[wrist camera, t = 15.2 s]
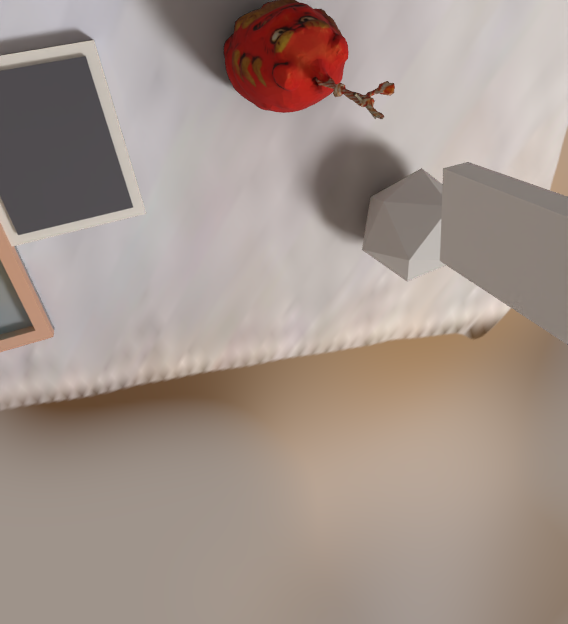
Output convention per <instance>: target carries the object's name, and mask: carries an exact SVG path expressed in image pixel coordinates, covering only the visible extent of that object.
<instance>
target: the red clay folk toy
mask: <svg viewBox="0 0 568 624" xmlns="http://www.w3.org/2000/svg"><path fill="white" fill-rule="evenodd" d="M224 56H225V65H226V71H227V74H228V77H229V80H230V81H231V83H232V85H233V87H234V88H235V90H236V91H237V92H238V93H239V94H240V95H242V96H243V97H244V98H246V99H247V100H248V101H250V102H252V103H254V104H255V105H256V106H257V107H259V108H260V109H263V110H270V111H275V112H283V113H285V112H294V111H299V110H302V109H305V108H307V107H309V106H311V105H313V104H315V103H318V102H319V101H321V100H322V99H324V98H325V97H327V96H328V95H330V94H331V93H332V92H333V94H334V96H335V97H339V96H341V95H342V94H344V95H345V96H347V97H348V98H349V99H351V100H353V101H354V102H355V103H357V104H358V105H359V106H361V107H366V108H367V109H368V111H369V112H370V113H371V114H372V116H373V117H374V118H375V119H376V117H377V118H380V119H383V118H384V115H383V114H382V113H380V112H377V111H376V109H374V108H373V104H374V99H373V98H371V96H372V95H374V94H378V93H380V94H383V95H392V94H393V93H394V88H395V87H394V83H389V82H388V81H386V82H384V83H381V84H379V87H378V88H377V89H375V90H373V91H371V92H368V93H367V94H366V95H362V94H360V93H356V92H352V91H349V90H347V89H346V88H345V85H344V84H342V83H340V82H341V80H342V76H343V69H344V64H345V61H346V60H347V59H348V45H347V42H346V40H345V38H344V37H343V36H342V34H341V32H340V30H339V29H338V27H337V25H336V24H335V22H334V20H333V19H332V18H331V17H330V16H328V15H327V14H326V12H325V11H324V10H322V9H313V8H311V7H310V6H308V5H306V4H304V3H299V2H297V1H296V0H276V1H273V2H268V3H266V4H264V5H263V6H262V7H261V9H258V10H254V11H252V12H250V13H247V14H245V15H244V16H242V17H240V18H239V19H238V20H237V21H236V22H235V28H234V33H233V34H232V35H231V36H230V37H229V38H228V39H227V40H226V42H225V44H224Z"/></svg>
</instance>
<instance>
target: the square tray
mask: <svg viewBox="0 0 568 624" xmlns="http://www.w3.org/2000/svg"><path fill="white" fill-rule="evenodd" d="M53 335H54V327H53V325H52V323H51V320H50V318H49V316H48V314H47V312H46V310H45V308H44V306H43V303H42V301H41V299H40V297H39V295H38V293H37V291H36V289H35V286H34V284H33V282H32V280H31V278H30V276H29V274H28V272H27V269H26V267H25V265H24V263H23V261H22V259H21V257H20V255H19V252H18V250H17V248H16V246H11V244H10V242H9V240H8V237H7V235H6V233H5V231H4V229H3V227H2V225H1V223H0V352H3V351H6V350H10V349H13V348H16V347H20V346H23V345H27V344H30V343H34V342H37V341H41V340H44V339H48V338H51V337H53Z"/></svg>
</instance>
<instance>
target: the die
mask: <svg viewBox="0 0 568 624" xmlns="http://www.w3.org/2000/svg"><path fill="white" fill-rule="evenodd" d="M442 189H443V184H441V183H440V182H439V181H437V180H436V179H435V178H434V177H432V176H431V175H430V174H428V173H427V172H426V171H424V170H423V169H422V168H421V169H420V170H418V171H416V172H414V173H412V174H411V175H409V176H407V177H405V178H403V179H402V180H400V181H398V182H396V183H395V184H393V185H391V186H389V187H387V188H386V189H384V190H382V191H380V192H379V193H377V194H375V195H373V196H371V197H370V203H369V209H368V216H367V222H366V228H365V234H364V241H363V247H362V250H363V251H365V252H366V253H367V254H369V255H370V256H372V257H373V258H375V259H376V260H377V261H379V262H380V263H382V264H383V265H385V266H386V267H387V268H389V269H390V270H392V271H393V272H395V273H396V274H397V275H399V276H400V277H402V278H403V279H404V280H406V281H410V280H412V279H415V278H417V277H420V276H422V275H424V274H427V273H429V272H432V271H434V270H436V269H439V268H441V267H444V266H446V265H445V264H444V263H442V262H441V261H440V242H441V216H442Z"/></svg>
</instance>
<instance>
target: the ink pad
mask: <svg viewBox="0 0 568 624" xmlns="http://www.w3.org/2000/svg"><path fill="white" fill-rule="evenodd" d="M143 214H146V211H145V207H144V204H143V201H142V197H141V194H140V191H139V188H138V184H137V181H136V178H135V174H134V171H133V168H132V164H131V161H130V158H129V154H128V151H127V148H126V145H125V141H124V138H123V135H122V131H121V128H120V125H119V121H118V118H117V115H116V111H115V108H114V105H113V102H112V98H111V95H110V92H109V88H108V85H107V82H106V78H105V75H104V72H103V68H102V65H101V62H100V59H99V55H98V52H97V49H96V45H95V42H94V40H90V41H84V42H78V43H72V44H66V45H60V46H54V47H48V48H42V49H36V50H30V51H24V52H18V53H12V54H6V55H0V223H1V225H2V227H3V229H4V231H5V233H6V235H7V237H8V240H9V242H10V244H11V246H16V245H21V244H25V243H29V242H33V241H37V240H41V239H45V238H49V237H53V236H57V235H61V234H65V233H69V232H74V231H78V230H82V229H86V228H90V227H94V226H98V225H102V224H106V223H110V222H114V221H118V220H122V219H126V218H131V217H135V216H139V215H143Z"/></svg>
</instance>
